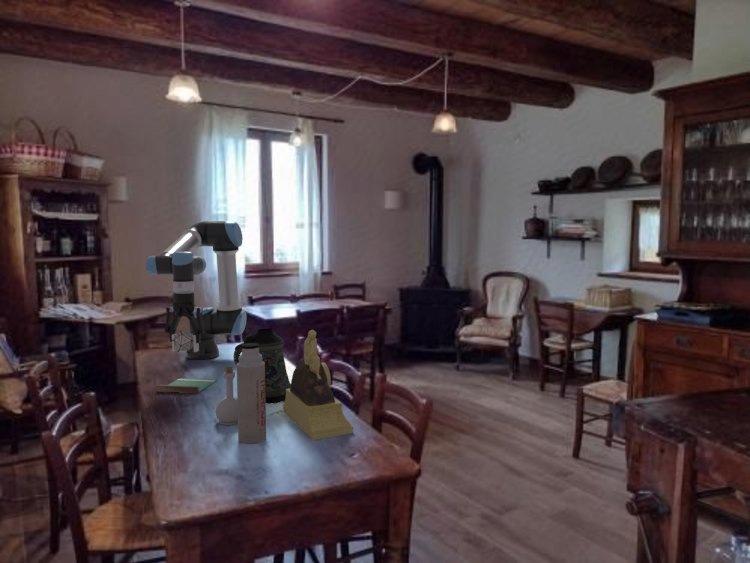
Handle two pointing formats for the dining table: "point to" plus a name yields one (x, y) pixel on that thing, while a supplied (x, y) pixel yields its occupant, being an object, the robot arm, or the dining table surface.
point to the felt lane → (194, 382)
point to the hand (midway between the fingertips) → (185, 350)
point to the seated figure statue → (314, 397)
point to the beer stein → (269, 363)
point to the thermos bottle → (251, 395)
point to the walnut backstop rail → (178, 389)
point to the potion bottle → (228, 401)
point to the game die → (184, 341)
